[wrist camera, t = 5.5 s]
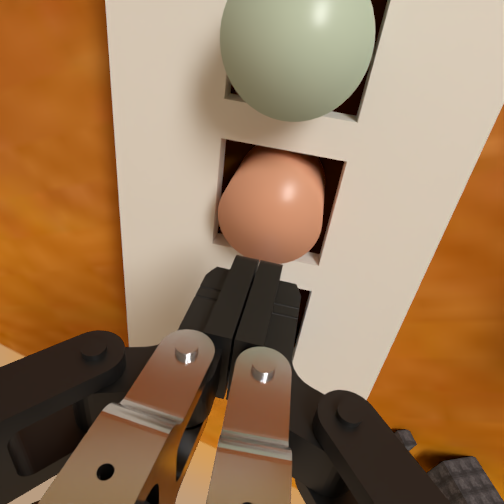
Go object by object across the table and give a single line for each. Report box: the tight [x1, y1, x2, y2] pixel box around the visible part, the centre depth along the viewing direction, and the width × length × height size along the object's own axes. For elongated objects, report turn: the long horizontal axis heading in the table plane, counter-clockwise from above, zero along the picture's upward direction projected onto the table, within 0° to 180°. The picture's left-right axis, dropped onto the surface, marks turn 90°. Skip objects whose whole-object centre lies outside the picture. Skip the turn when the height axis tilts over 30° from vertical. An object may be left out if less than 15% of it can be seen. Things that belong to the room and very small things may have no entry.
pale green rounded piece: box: [220, 0, 375, 122], centre depth 12 cm, size 4×4×4 cm
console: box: [105, 0, 504, 400], centre depth 18 cm, size 14×24×3 cm, turn 173°
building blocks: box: [394, 430, 504, 504], centre depth 27 cm, size 3×6×8 cm
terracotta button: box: [218, 145, 325, 264], centre depth 18 cm, size 4×4×4 cm
